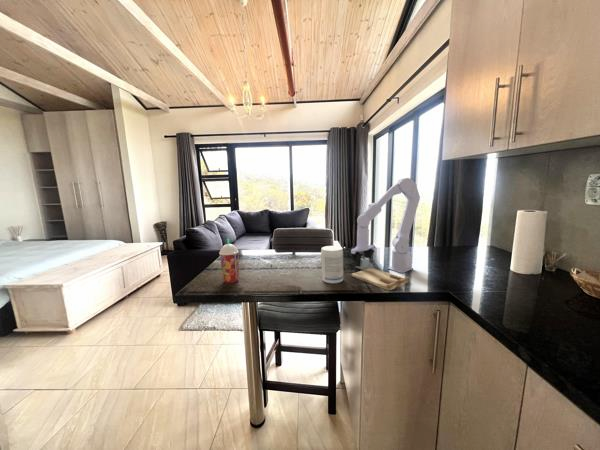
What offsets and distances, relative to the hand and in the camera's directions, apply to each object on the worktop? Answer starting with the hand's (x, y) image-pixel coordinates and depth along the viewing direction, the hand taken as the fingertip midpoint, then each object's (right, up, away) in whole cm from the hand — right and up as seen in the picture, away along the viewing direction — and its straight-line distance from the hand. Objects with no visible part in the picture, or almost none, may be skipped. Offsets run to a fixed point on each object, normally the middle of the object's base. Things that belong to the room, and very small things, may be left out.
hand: (362, 264), depth 123 cm
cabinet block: (0, -2, 0) cm, 2 cm away
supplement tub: (-17, -4, -15) cm, 23 cm away
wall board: (+3, -4, -15) cm, 16 cm away
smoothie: (-63, -5, -13) cm, 65 cm away
